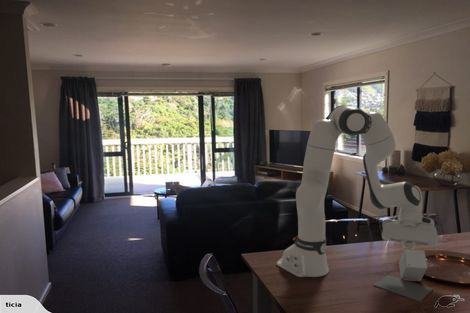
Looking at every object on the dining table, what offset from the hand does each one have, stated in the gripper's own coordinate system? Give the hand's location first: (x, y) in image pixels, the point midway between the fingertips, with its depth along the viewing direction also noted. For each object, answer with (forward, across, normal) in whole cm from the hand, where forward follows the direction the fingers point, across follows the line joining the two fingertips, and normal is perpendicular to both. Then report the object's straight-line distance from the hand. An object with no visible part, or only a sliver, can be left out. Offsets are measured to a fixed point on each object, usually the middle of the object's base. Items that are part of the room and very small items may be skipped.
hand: (408, 252), depth 142 cm
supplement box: (+5, +1, +7) cm, 8 cm away
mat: (+14, -1, +1) cm, 14 cm away
